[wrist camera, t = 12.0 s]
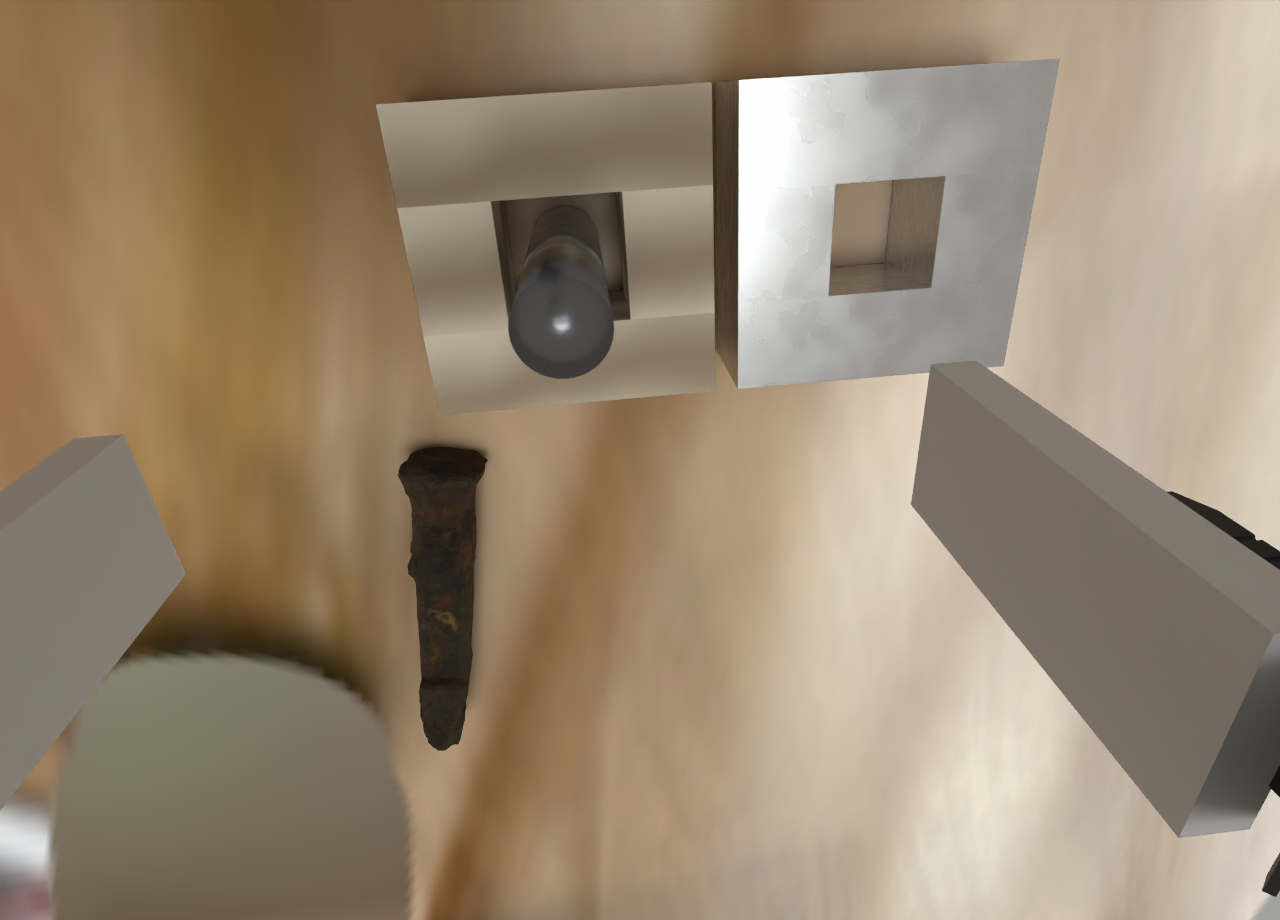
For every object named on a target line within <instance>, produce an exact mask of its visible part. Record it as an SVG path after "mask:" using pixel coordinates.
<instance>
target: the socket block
mask: <svg viewBox="0 0 1280 920" xmlns="http://www.w3.org/2000/svg"><path fill="white" fill-rule="evenodd" d="M1059 60H1060V59H1048V60H1033V61H1018V62H1003V63H988V64H973V65H958V66H943V67H928V68H913V69H898V70H883V71H869V72H854V73H839V74H824V75H809V76H794V77H779V78H764V79H749V80H735V81H723V82H715V145H716V243H717V341H718V354H719V356H720V358H721V359H722V361H723V363H724V365H725V367H726V368H727V370H728V372H729V374H730V376H731V377H732V379H733V381H734V383H735V385H736V386H737V388H738V389H744V388H755V387H767V386H778V385H790V384H801V383H813V382H824V381H836V380H847V379H859V378H870V377H882V376H893V375H905V374H916V373H928V372H930V367H931V364H939V363H951V362H962V361H974V360H976V361H977V362H979V363H980V364H981V365H983V366H984V367H997V366H1004V360H1005V355H1006V349H1007V344H1008V338H1009V333H1010V327H1011V322H1012V317H1013V311H1014V306H1015V300H1016V295H1017V289H1018V284H1019V278H1020V273H1021V267H1022V262H1023V257H1024V251H1025V246H1026V240H1027V235H1028V229H1029V224H1030V218H1031V213H1032V207H1033V202H1034V197H1035V191H1036V186H1037V180H1038V175H1039V169H1040V164H1041V158H1042V153H1043V147H1044V142H1045V137H1046V131H1047V126H1048V120H1049V115H1050V109H1051V104H1052V98H1053V93H1054V87H1055V82H1056V77H1057V71H1058V66H1059ZM884 180H893V188H892V198H891V209H890V219H889V229H888V240H887V250H886V260H885V263H878V264H866V265H853V266H841V267H830V261H831V245H832V228H833V212H834V196H835V184H844V183H857V182H870V181H884Z"/></svg>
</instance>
